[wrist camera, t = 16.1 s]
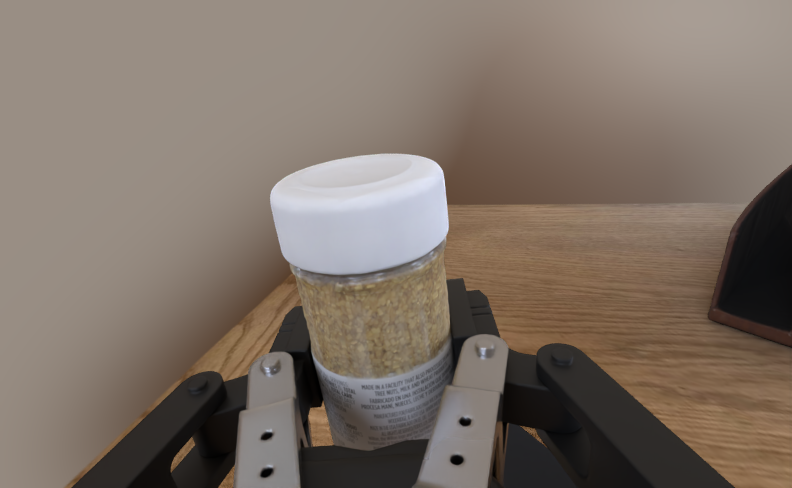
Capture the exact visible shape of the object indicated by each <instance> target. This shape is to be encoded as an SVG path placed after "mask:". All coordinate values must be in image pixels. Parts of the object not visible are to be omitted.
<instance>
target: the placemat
mask: <svg viewBox="0 0 792 488" xmlns="http://www.w3.org/2000/svg"><path fill="white" fill-rule="evenodd" d="M504 487H505V488H577V486H576V485H575V484H574V482H573V481H572V480H571V478H570V477H569V476H568V474H567V473H566V472H565V470H564V469H563V468H562V466H561V465H560V464H559V462H558V461H557V460H556V458H555V457H554V456H553V454H552V453H551V452H550V450H549V449H548V448H547V447H545V446H544V445H543V444H542V443H540V442H539V441H538V440H537V439H535V438H534V437H533V436H532V435H530V434H529V433H528V432H527V431H525V430H524V429H523V428H521V427H520V426H519V425H515V424H510V423H509V427H508V436H507V446H506V455H505V465H504Z"/></svg>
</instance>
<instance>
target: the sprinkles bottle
mask: <svg viewBox="0 0 792 488" xmlns="http://www.w3.org/2000/svg"><path fill="white" fill-rule="evenodd" d="M270 203H271V208H272V213H273V218H274V223H275V226H276V231H277V235H278V239H279V243H280V247H281V251H282V254H283V256H284V258H285V259H286V260H287V261H288V262H290V269H291V272H292V273H293V274H294V275H295V277H296V281H297V287H298V291H299V295H300V298H301V300H302V307H303V312H304V317H305V318H306V321H307V328H308V330H309V334H310V340H311V345H310V346H311V352H312V356H313V360H314V364H315V368H316V372H317V376H318V380H319V384H320V388H321V393H322V397H323V401H324V405H325V409H326V413H327V417H328V422H329V426H330V430H331V435H332V439H333V443H334V445H335V446H341V447H347V448H353V449H360V450H366V451H371V450H375V449H378V448H382V447H385V446H388V445H392V444H395V443H399V442H402V441H406V440H418V439H429V438H430V435H431V432H432V428H433V425H434V422H435V418H436V415H437V411H438V408H439V405H440V401H441V398H442V394H443V391H444V388H445V386H446V385H447V384H449V385H452V382H453V378H454V374H455V363H454V350H453V338H452V331H451V324H450V314H449V304H448V290H447V284H446V272H445V266H444V250H445V247H446V235H447V233H448V229H449V225H448V212H447V200H446V191H445V181H444V175H443V171H442V169H441V168H440V166H439V165H438V164H437V163H436V162H435V161H432V160H431V159H428V158H425V157H421V156H416V155H408V154H376V155H375V154H374V155H364V156H356V157H350V158H344V159H339V160H333V161H329V162H325V163H321V164H317V165H314V166H311V167H308V168H305V169H302V170H299V171H297V172H294V173H292V174H290V175H288V176H287V177H285V178H283V179H282V180H281V181H279V182H278V183H277V184H276V185H275V186H274V188H273V189H272V192H271V195H270Z"/></svg>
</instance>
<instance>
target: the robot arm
mask: <svg viewBox="0 0 792 488" xmlns="http://www.w3.org/2000/svg"><path fill="white" fill-rule="evenodd" d="M446 284H447V290H448V304H449V314H450V324H451V331H452V338H453V350H454V363H455V374H454V378H453V382H452V385H449V384H447V385H446V386H445V388H444V391H443V394H442V398H441V401H440V405H439V408H438V411H437V415H436V418H435V422H434V425H433V428H432V432H431V435H430V438H429V439H418V440H406V441H402V442H399V443H395V444H392V445H388V446H385V447H382V448H378V449H375V450H371V451H366V450H360V449H353V448H347V447H341V446H335V445H332V446H317V447H313V444H312V436H311V427H310V422H309V418H308V415H309V411H310V408H313V407H321V406H322V402H323V397H322V393H321V388H320V384H319V380H318V376H317V372H316V368H315V364H314V360H313V356H312V352H311V346H310V345H311V340H310V334H309V330H308V328H307V321H306V318H305V317H304V312H303V307H302V306H297V307H294V308H293V309H292V310H291V311H290V312H289V313H288V314H286V316H285V318H284V320H283V323H282V325H281V327H280V329H279V333H278V334H277V336H276V338H275V341H274V343H273V345H272V347H271V349H270V352H269V353H268V354H266V355H263V356H261V357H260V358H258V359H257V360H255V361H254V362H253V363H252V365H251V366H250V368H249V371H248V374H247V375H245V376H242V377H239V378H235V379H232V380H229V381H226V382H224V381H223V379H222V376H221V375H220V374H219V373H217V372H214V371H206V372H202V373H198V374H196V375H193V376H191V377H189V378H188V379H186V380H185V381H183V382H182V383H181V384H180V385H179V386H178V387H177V388H176V389H175V390H174V391H173V392H172V393H171V394H170V395H168V396H167V397H166V398H165V399H164V400H163V401H162V402H161V403H160V404H159V405H158V406H157V407H156V408H155V409H154V410H153V411H152V412H151V413H150V414H148V415H147V416H146V417H145V418H144V419H143V420H142V421H141V422H140V423H139V424H138V425H137V426H136V427H135V428H134V429H133V430H132V431H131V432H130V433H128V434H127V435H126V436H125V437H124V438H123V439H122V440H121V441H120V442H119V443H118V444H117V445H116V446H115V447H114V448H113V449H112V450H111V451H110V452H108V453H107V454H106V455H105V456H104V457H103V458H102V459H101V460H100V461H99V462H98V463H97V464H96V465H95V466H94V467H93V468H92V469H91V470H90V471H88V472H87V473H86V474H85V475H84V476H83V477H82V478H81V479H80V480H79V481H78V482H77V483H76V484H75V485H74V486H73V487H72V488H218V487H219V485H220V484H221V482H222V481H223V480H224V478H225V477H226V476H227V474H228V473H229V472H230V470H231V469H232V467H233V466H234V465H235V472H234V484H233V488H505V487H504V465H505V455H506V446H507V436H508V427H509V423H510V424H515V425H520V426H525V427H530V428H535V429H536V432H537V434H538V435H539V437H540V438H541V440H542V441H543V442H544V444H545V445H546V446H547V448H548V449H549V450H550V452H551V453H552V454H553V456H554V457H555V458H556V460H557V461H558V462H559V464H560V465H561V466H562V468H563V469H564V470H565V472H566V473H567V474H568V476H569V477H570V478H571V480H572V481H573V482H574V484H575V485H576V486H577V488H735V487H734V486H732V485H731V484H730V483H729V482H728V481H727V480H726V479H725V478H724V477H722V476H721V475H720V474H719V473H718V472H717V471H716V470H715V469H713V468H712V467H711V466H710V465H709V464H708V463H707V462H706V461H704V460H703V459H702V458H701V457H700V456H699V455H698V454H697V453H695V452H694V451H693V450H692V449H691V448H690V447H689V446H688V445H686V444H685V443H684V442H683V441H682V440H681V439H680V438H679V437H678V436H676V435H675V434H674V433H673V432H672V431H671V430H670V429H669V428H667V427H666V426H665V425H664V424H663V423H662V422H661V421H660V420H658V419H657V418H656V417H655V416H654V415H653V414H652V413H651V412H649V411H648V410H647V409H646V408H645V407H644V406H643V405H642V404H640V403H639V402H638V401H637V400H636V399H635V398H634V397H633V396H632V395H630V394H629V393H628V392H627V391H626V390H625V389H624V388H623V387H621V386H620V385H619V384H618V383H617V382H616V381H615V380H614V379H612V378H611V377H610V376H609V375H608V374H607V373H606V372H605V371H603V370H602V369H601V368H600V367H599V366H598V365H597V364H596V363H594V362H593V361H592V360H591V359H590V358H589V357H588V356H587V355H586V354H584V353H583V352H582V351H581V350H579V349H578V348H576V347H574V346H571V345H567V344H561V343H554V344H548V345H545V346H543V347H541V348H540V349H539V350H538V352H537V356H536V355H529V354H523V353H519V352H516V351H513V350H511V349H509V348H508V345H507V343H506V342H505V341H504V340H503V339H501V338H500V335H499V332H498V329H497V326H496V323H495V320H494V317H493V314H492V311H491V308H490V305H489V302H488V299H487V297H486V296H485V295H484V294H483V293H482V292H481V291H479V290H474V291H466V288H465V284H464V280H463V278H459V279H449V280H446ZM191 437H192V438H193V440H194V442H195V446H194V447H193V448H192V449H191V451H190V452H189V453H188V454H187V455H186V456H185V457H184V459H183V460H182V461H181V462H180V463H179V464H178V466H177V467H176V468H175V469H174V470H173V471H172V473H171V464H172V461H173V459H174V457H175V455H176V454H177V453H178V452H179V451H180V450H181V448H182V447H183V446H184V445H185V444H186V443H187V442H188V441H189V439H190V438H191Z"/></svg>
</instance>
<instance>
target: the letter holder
mask: <svg viewBox="0 0 792 488" xmlns="http://www.w3.org/2000/svg"><path fill="white" fill-rule="evenodd" d="M708 318H709V320H712V321H715V322H718V323H720V324H724V325H727V326H730V327H733V328H736V329H739V330H742V331H745V332H747V333H750V334H753V335H756V336H759V337H762V338H765V339H768V340H771V341H774V342H777V343H780V344H783V345H786V346H789V347H792V165H790V166H789V167H788V168H787V169H786V170H784V171H783V172H782V173H781V174H780V175H778V176H777V177H776V178H775V179H774V180H773V181H772V182H771V183H770V184H769V185H767V186H766V187H765V188H764V189H763V190H762V191H761V192H760V193H759V194H758V195H757V196H756V197H755V198H754V199H753V201H752V202H751V203H750V204H749V205H748V206H747V207H746V208H745V210H744V211H743V212H742V214H741V215H740V217H739V218H738V219H737V221H736V223H735V224H734V226H733V228H732V230H731V231H730V236H729V239H728V243H727V247H726V251H725V255H724V258H723V261H722V265H721V269H720V272H719V275H718V279H717V283H716V287H715V291H714V294H713V298H712V302H711V306H710V310H709V312H708Z"/></svg>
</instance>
